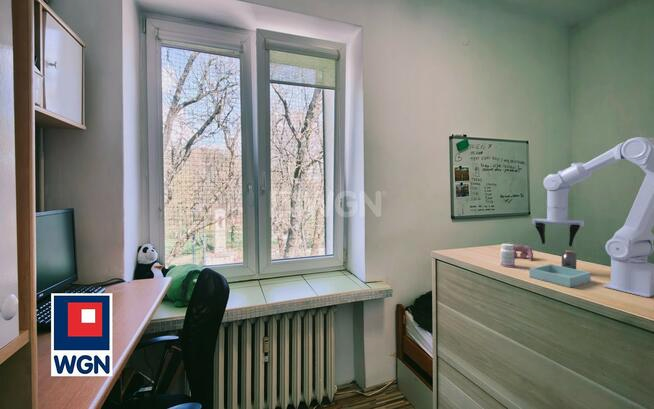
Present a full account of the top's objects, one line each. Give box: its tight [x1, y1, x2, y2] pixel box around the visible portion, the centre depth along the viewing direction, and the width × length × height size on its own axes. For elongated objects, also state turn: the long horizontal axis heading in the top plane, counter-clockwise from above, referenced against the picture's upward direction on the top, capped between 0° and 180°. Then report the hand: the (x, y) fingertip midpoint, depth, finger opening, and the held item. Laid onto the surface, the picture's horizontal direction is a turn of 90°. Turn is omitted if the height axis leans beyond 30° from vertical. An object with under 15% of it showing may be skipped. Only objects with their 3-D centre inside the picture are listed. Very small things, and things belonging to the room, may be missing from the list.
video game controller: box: [513, 243, 534, 261], centre depth 120 cm, size 10×5×7 cm, turn 58°
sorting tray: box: [529, 263, 592, 289], centre depth 93 cm, size 12×12×3 cm
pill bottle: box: [499, 243, 516, 268], centre depth 109 cm, size 5×5×8 cm
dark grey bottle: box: [561, 249, 577, 269], centre depth 100 cm, size 4×4×8 cm
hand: (556, 244), depth 102 cm, fingers open, 7 cm apart
